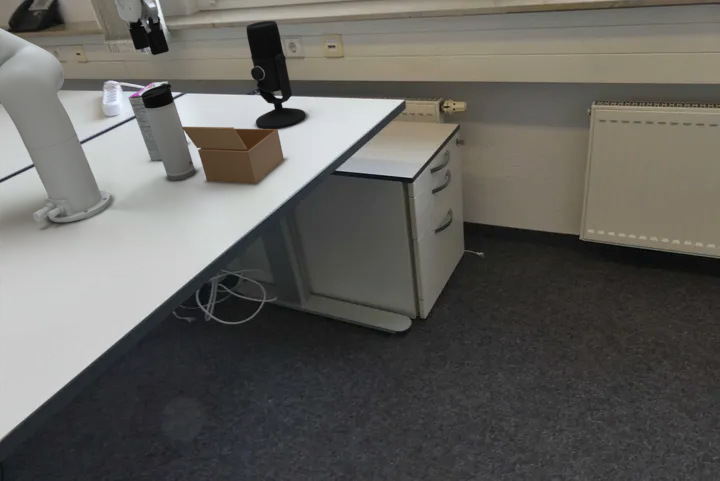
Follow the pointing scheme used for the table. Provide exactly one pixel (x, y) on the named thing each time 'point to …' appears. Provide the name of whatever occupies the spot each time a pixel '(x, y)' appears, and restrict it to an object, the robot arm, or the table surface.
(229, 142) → the front flap
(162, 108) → the travel mug
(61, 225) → the table surface
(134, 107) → the candy bar box
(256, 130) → the carton
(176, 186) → the table surface
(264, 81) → the microphone
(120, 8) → the robot arm
